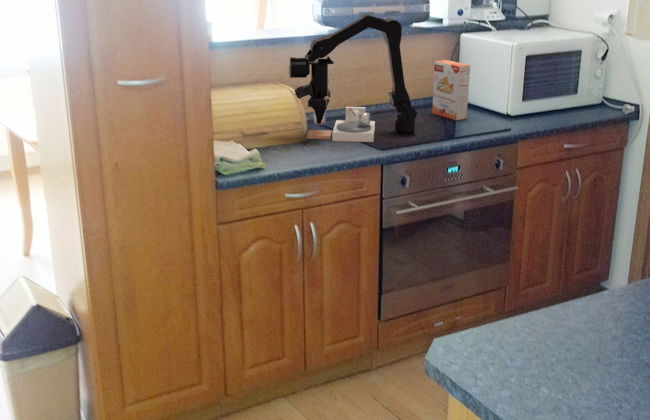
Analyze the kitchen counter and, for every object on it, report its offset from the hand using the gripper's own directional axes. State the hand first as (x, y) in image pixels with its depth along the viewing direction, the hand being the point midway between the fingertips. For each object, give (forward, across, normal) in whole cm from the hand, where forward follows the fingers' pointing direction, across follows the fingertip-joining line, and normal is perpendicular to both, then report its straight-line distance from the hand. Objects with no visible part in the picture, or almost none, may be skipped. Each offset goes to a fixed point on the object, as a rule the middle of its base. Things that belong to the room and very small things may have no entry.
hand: (319, 121), depth 258 cm
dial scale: (+5, -2, +12) cm, 13 cm away
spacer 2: (+1, 0, +15) cm, 15 cm away
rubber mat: (+5, 0, 0) cm, 5 cm away
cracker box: (+5, -33, +47) cm, 58 cm away
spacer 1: (0, 0, 0) cm, 0 cm away
